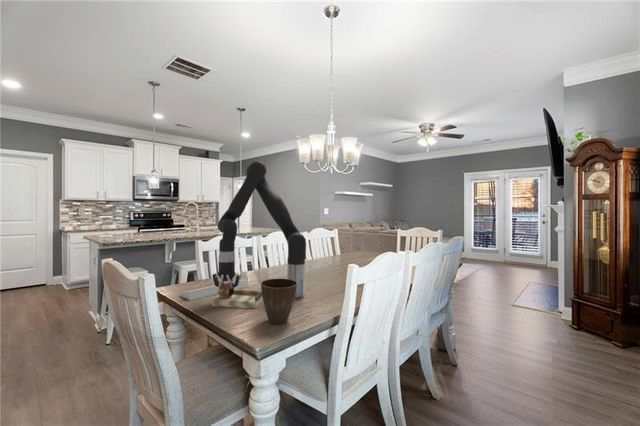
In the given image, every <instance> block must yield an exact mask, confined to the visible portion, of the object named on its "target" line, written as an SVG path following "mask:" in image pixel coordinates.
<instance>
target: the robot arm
mask: <svg viewBox="0 0 640 426" xmlns="http://www.w3.org/2000/svg"><path fill="white" fill-rule="evenodd" d="M266 173H267V167H266V165H265V163H263V162H262V161H258V160H255V161H252V162H250V164H249V165H248V166H247V167H246V170H245V175H246V177H245V179H244V181H243V183H242V185H241V186H240V188H239V190H238V191H237V192H236V194H235V195H234V198H232V200H231V202H230V203H229V206H228V209H227V210H226V211H225V212H224V213H223V215H222V216H221V218H220V219H219V221H218V223H217V229H218V231H219V232H221V233H222V238H221V239H220V240H219V244H218V245H219V249H218V250H219V251H218V272H217V273H216V272H215V273H213V274H212V275H211V277H212V280H213V282H214V286H217V287H219V286H221V285H222V284H224V283H225V282H228V283H229V285H230V296H232V295H233V294H234V287H236V286H238V283H239V281H240V280H241V276H242V275H241V274H239V273H238V274H237V273H236V272H235V271H236V270H235V269H236V253H235V249H236V248H235V245H236V244H235V242H236V237H237V234H238V225H237V223H236V220H237V219H238V218H240V217H242V214H243V213H244V211H245V209H246V208H247V206H248V203H249V201H250V199H251V197H252V194H253V193H254V191H255V190H256V191H257V193H258V195H259V198H260V199H261V200H262V203H263V204H264V206H265V208H266V209H267V212H268V213H269V215H270V216H271V218H272V219H273V220H274V222H275V223H276V225H277V226H278V227H279V228H280V230H281V231H282V233H283V235H284V238H285V240H286V242H287V245H288V246H287V249H288V251H287V261H286V262H287V267H286V268H287V270H286V271H287V272H286V273H287V274H286V275H287V276H286V279H290V280H294V281H296V282H297V287H296V293H295V298H294V299H298V298H304V297H305V294H306V275H305V271H306V269H305V268H306V267H305V266H306V258H307V257H306V256H307V255H306V254H307V253H306V252H307V239H306V237H305V236H304V234H302V233H301V232H300V231H299V230H298V228H297V227H296V225H295V224H294V222H293V220H292V218H291V214H290V212H289V210H288V208H287V206H286V204H285V202H284V200H283V199H282V197H281V196H280V195H279V194H278V193H277V192H276V191H275V190H274V189H273V188H272V187H271V185H270V184H269V182H268V180H267V178H266ZM234 278H235V281H234ZM234 282H235V283H234Z"/></svg>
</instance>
